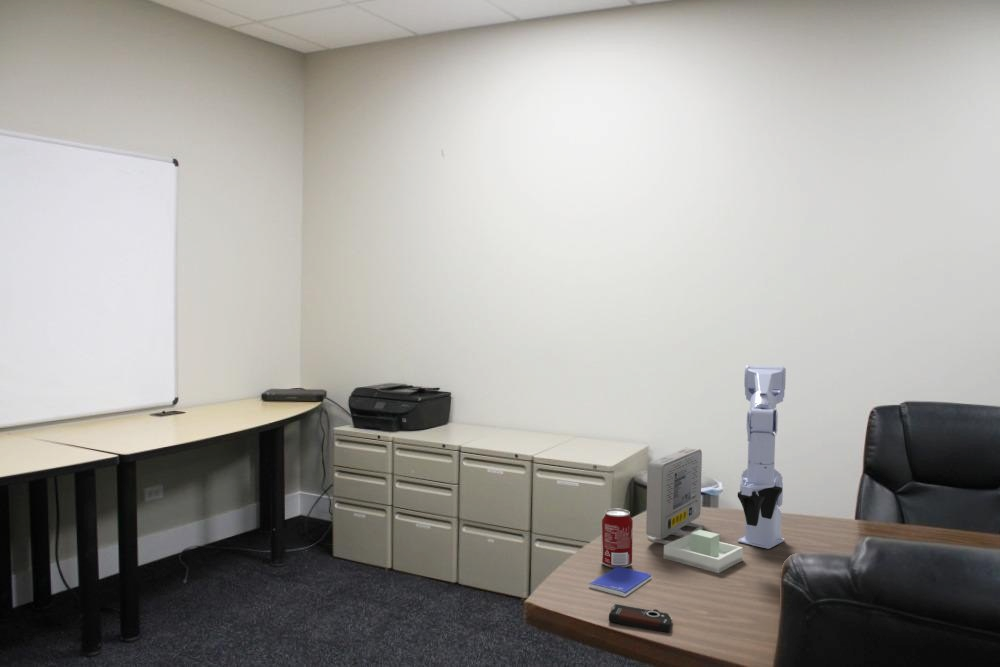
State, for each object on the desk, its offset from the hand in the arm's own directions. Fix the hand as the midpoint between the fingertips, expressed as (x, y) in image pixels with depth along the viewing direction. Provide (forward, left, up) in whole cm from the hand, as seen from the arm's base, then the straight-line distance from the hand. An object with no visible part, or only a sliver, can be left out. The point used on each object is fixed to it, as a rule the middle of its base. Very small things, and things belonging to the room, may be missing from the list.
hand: (759, 521), depth 173 cm
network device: (-6, -25, -10) cm, 27 cm away
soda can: (+24, -22, -10) cm, 34 cm away
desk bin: (+7, -10, -9) cm, 15 cm away
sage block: (+7, -10, -8) cm, 15 cm away
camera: (+46, -2, -10) cm, 47 cm away
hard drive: (+32, -15, -10) cm, 37 cm away
